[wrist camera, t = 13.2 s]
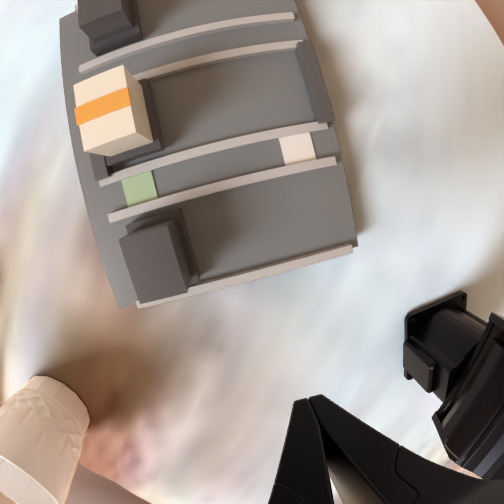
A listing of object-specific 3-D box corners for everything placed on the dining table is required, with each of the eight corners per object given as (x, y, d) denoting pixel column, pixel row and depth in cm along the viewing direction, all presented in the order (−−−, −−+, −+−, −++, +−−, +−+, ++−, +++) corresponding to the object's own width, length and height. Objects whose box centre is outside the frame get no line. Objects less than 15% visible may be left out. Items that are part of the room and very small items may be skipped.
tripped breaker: (150, 84, 15) (127, 53, 10) (164, 149, 16) (144, 138, 11) (101, 102, 15) (65, 79, 10) (114, 166, 16) (78, 162, 11)
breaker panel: (274, -29, 15) (287, -71, 10) (349, 243, 20) (387, 263, 15) (67, 25, 14) (36, -5, 9) (126, 301, 19) (101, 337, 14)
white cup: (26, 352, 19) (-38, 424, 10) (106, 401, 21) (69, 496, 11) (18, 406, 20) (-27, 472, 11) (86, 448, 22) (58, 526, 12)
